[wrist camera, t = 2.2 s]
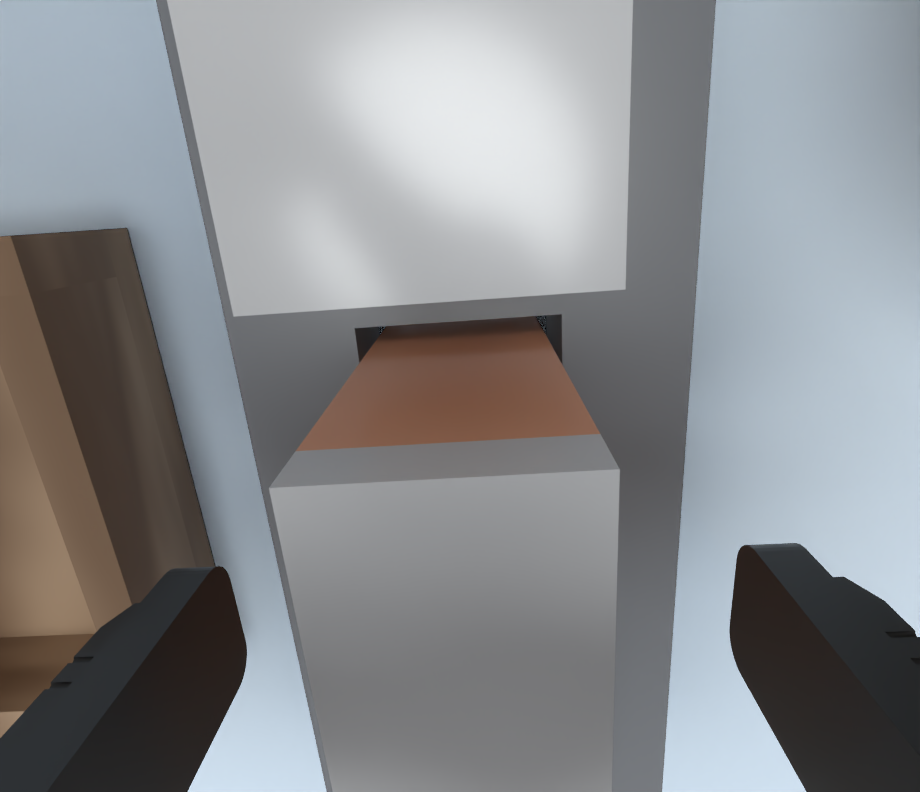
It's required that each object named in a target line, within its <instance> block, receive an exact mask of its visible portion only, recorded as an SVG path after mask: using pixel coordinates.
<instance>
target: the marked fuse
mask: <svg viewBox="0 0 920 792" xmlns="http://www.w3.org/2000/svg"><path fill="white" fill-rule="evenodd" d="M619 483H620V469H619V467H618V465H617V463H616V461H615V460H614V458H613V456H612V454H611V452H610V450H609V449H608V447H607V445H606V443H605V441H604V440H603V438H602V436H601V434H600V432H599V431H598V429H597V427H596V425H595V423H594V421H593V420H592V418H591V416H590V414H589V412H588V411H587V409H586V407H585V405H584V403H583V401H582V400H581V398H580V396H579V394H578V392H577V391H576V389H575V387H574V385H573V383H572V382H571V380H570V378H569V376H568V374H567V372H566V371H565V369H564V367H563V365H562V363H561V362H560V360H559V358H558V356H557V354H556V352H555V351H554V349H553V347H552V345H551V343H550V342H549V340H548V338H547V336H546V334H545V333H544V331H543V329H542V327H541V325H540V323H539V322H538V320H537V318H536V316H529V317H514V318H500V319H485V320H470V321H455V322H440V323H425V324H410V325H395V326H386V327H385V329H384V330H383V331H382V333H381V334H380V336H379V337H378V338H377V340H376V341H375V342H374V344H373V345H372V347H371V348H370V349H369V351H368V352H367V353H366V355H365V356H364V358H363V359H362V360H361V362H360V363H359V365H358V366H357V367H356V369H355V370H354V371H353V373H352V374H351V376H350V377H349V378H348V380H347V381H346V382H345V384H344V385H343V387H342V388H341V389H340V391H339V392H338V393H337V395H336V396H335V398H334V399H333V400H332V402H331V403H330V404H329V406H328V407H327V409H326V410H325V411H324V413H323V414H322V415H321V417H320V418H319V420H318V421H317V422H316V424H315V425H314V427H313V428H312V429H311V431H310V432H309V433H308V435H307V436H306V438H305V439H304V440H303V442H302V443H301V444H300V446H299V447H298V449H297V450H296V451H295V453H294V454H293V455H292V457H291V458H290V460H289V461H288V462H287V464H286V465H285V466H284V468H283V469H282V471H281V472H280V473H279V475H278V476H277V477H276V479H275V480H274V482H273V483H272V484H271V486H270V487H269V491H270V496H271V501H272V506H273V510H274V515H275V520H276V525H277V529H278V534H279V539H280V544H281V548H282V553H283V558H284V563H285V567H286V572H287V577H288V582H289V586H290V591H291V596H292V601H293V605H294V610H295V615H296V620H297V624H298V629H299V634H300V639H301V643H302V648H303V653H304V658H305V662H306V667H307V672H308V677H309V682H310V686H311V691H312V696H313V701H314V705H315V710H316V715H317V720H318V724H319V729H320V734H321V739H322V743H323V748H324V753H325V758H326V762H327V767H328V772H329V777H330V781H331V786H332V791H333V792H612V758H613V719H614V680H615V640H616V601H617V562H618V522H619Z"/></svg>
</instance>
